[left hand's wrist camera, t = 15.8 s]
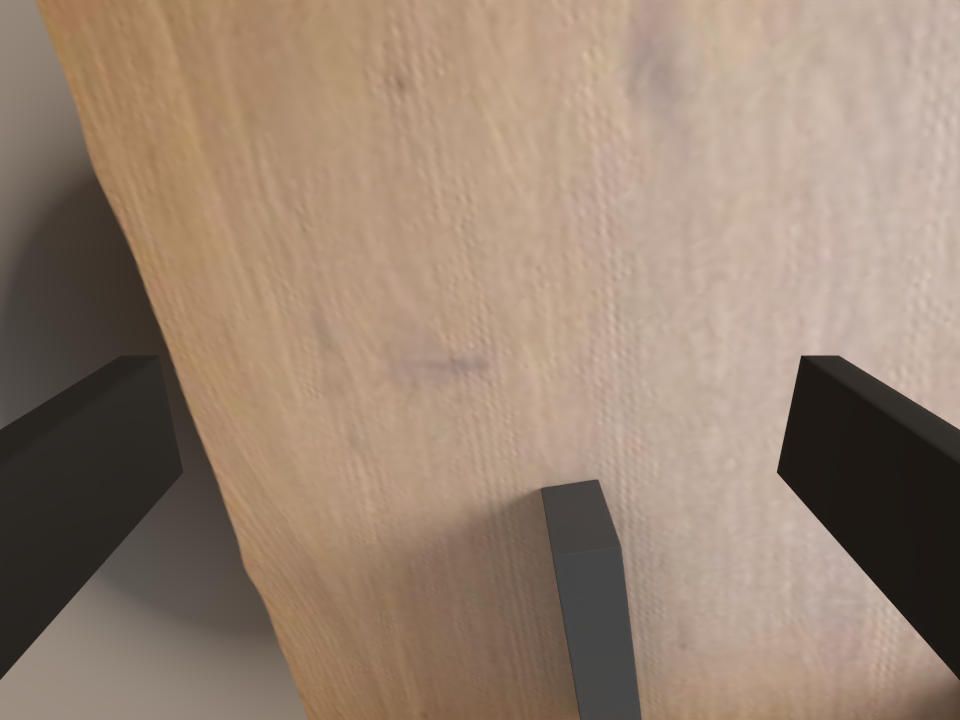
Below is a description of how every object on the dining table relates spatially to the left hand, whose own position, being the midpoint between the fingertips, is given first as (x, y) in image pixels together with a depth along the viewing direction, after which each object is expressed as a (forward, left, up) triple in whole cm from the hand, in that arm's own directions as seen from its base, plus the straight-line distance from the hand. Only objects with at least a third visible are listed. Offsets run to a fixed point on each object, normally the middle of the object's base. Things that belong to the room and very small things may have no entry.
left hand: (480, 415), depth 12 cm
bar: (+33, +9, -29) cm, 45 cm away
